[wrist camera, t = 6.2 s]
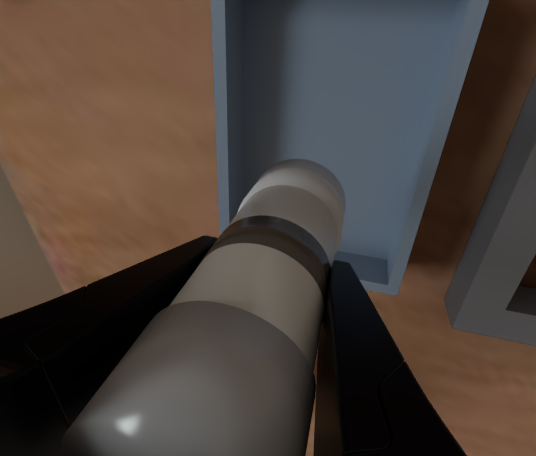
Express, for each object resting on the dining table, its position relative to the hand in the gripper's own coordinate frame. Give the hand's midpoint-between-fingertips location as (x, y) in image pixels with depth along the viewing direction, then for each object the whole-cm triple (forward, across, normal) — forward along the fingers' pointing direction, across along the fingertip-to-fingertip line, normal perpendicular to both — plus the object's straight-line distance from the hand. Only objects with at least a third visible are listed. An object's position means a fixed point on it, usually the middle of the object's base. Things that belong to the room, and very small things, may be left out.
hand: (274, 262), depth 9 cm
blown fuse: (+4, 0, 0) cm, 4 cm away
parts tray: (+11, 0, 0) cm, 11 cm away
